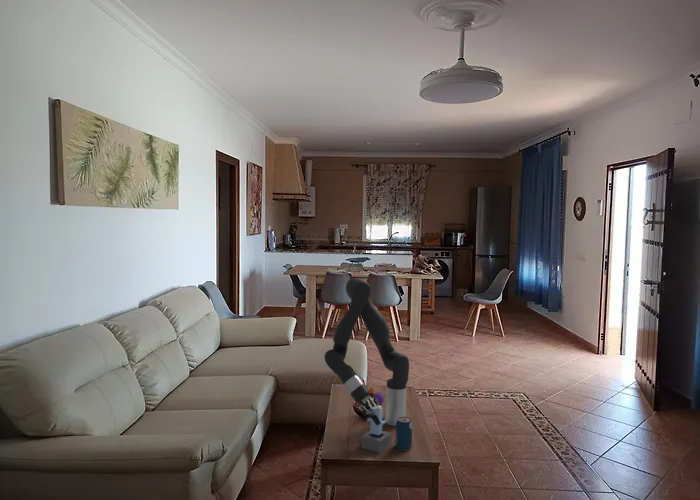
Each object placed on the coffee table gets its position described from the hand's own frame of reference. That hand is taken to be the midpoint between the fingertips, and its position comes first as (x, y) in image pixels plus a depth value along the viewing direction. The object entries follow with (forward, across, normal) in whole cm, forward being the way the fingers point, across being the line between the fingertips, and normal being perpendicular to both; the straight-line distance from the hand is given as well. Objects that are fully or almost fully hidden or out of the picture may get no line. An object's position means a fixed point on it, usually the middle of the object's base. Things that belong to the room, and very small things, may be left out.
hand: (380, 422), depth 205 cm
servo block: (+2, 0, +5) cm, 5 cm away
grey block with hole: (+6, 0, +9) cm, 11 cm away
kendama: (-13, +50, +28) cm, 59 cm away
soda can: (+13, +5, +2) cm, 14 cm away
